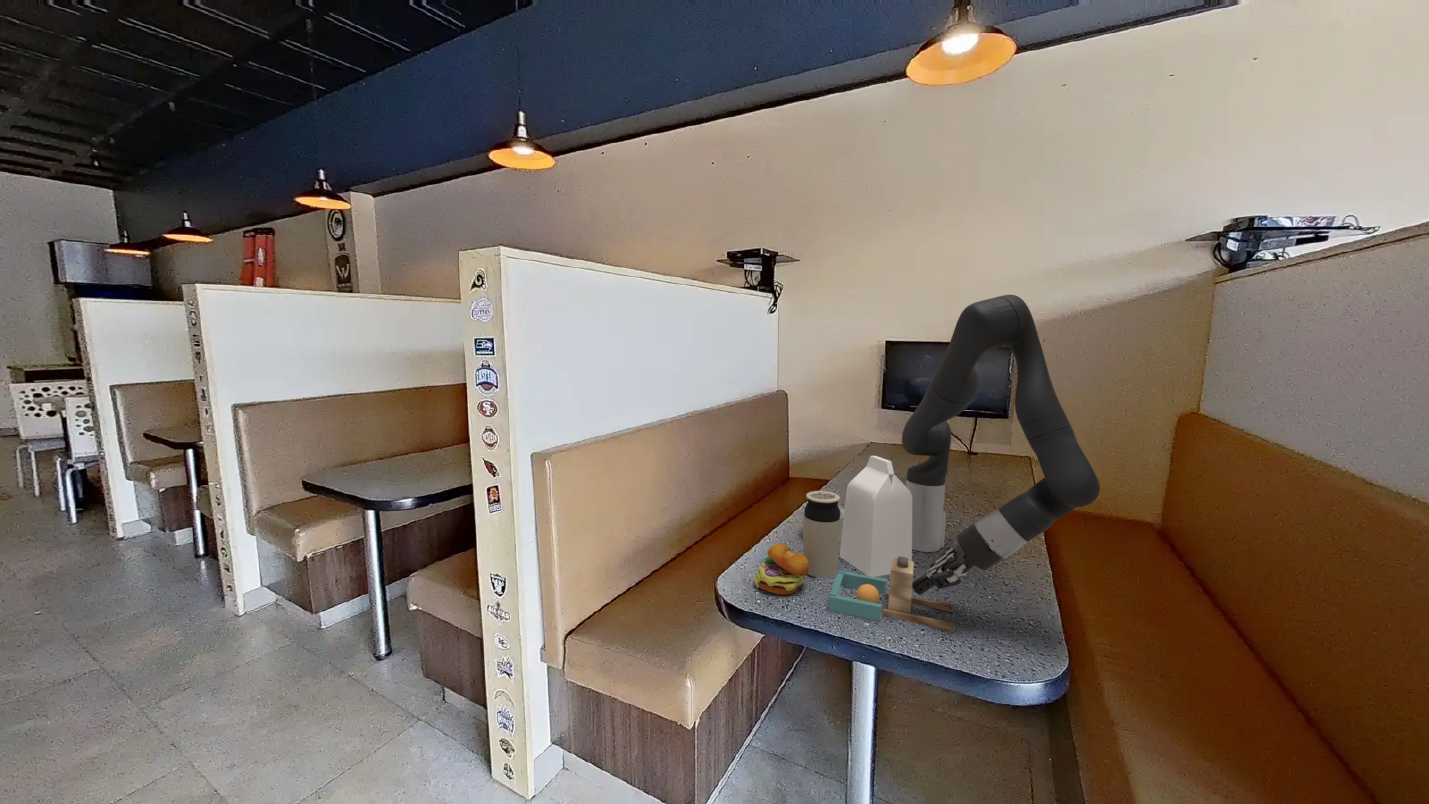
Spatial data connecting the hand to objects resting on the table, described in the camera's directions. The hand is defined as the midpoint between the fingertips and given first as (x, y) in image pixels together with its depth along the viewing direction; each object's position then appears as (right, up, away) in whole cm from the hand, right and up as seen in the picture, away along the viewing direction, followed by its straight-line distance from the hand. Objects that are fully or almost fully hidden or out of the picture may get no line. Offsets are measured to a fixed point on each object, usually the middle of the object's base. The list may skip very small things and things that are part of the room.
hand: (915, 589), depth 101 cm
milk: (-1, -3, +22) cm, 23 cm away
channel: (+1, -5, 0) cm, 5 cm away
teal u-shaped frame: (-10, -5, +4) cm, 12 cm away
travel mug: (-15, -3, +19) cm, 24 cm away
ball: (-8, -3, +4) cm, 9 cm away
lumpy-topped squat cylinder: (-10, 0, +39) cm, 40 cm away
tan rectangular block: (-3, -4, +2) cm, 5 cm away
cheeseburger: (-25, -4, +12) cm, 28 cm away
